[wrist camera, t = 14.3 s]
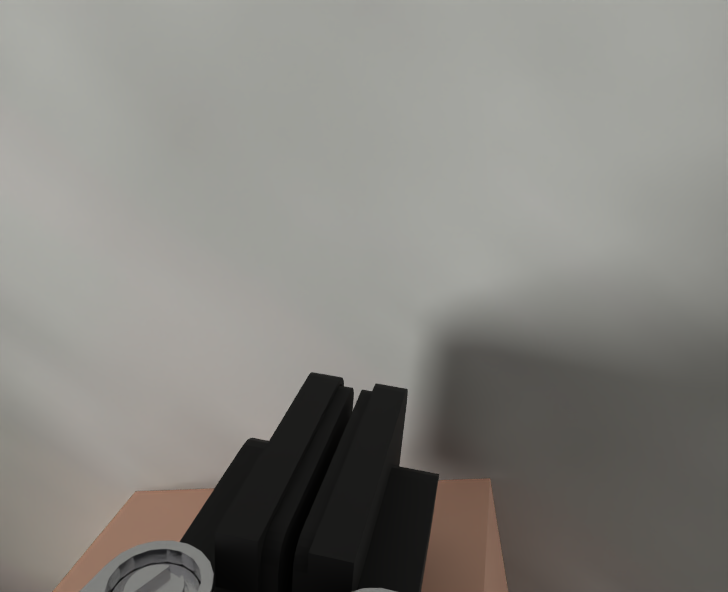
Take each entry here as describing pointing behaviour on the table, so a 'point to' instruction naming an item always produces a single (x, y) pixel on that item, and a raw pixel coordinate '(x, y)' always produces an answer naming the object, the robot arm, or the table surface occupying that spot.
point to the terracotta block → (444, 556)
